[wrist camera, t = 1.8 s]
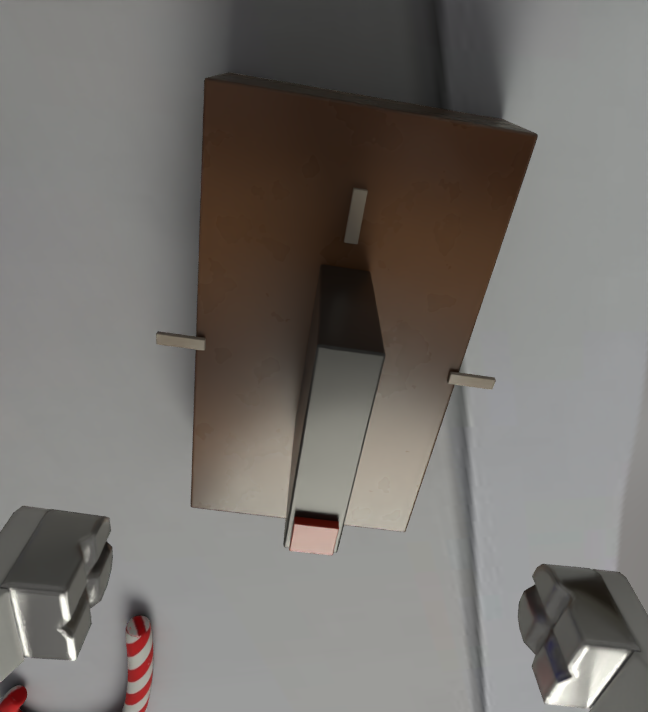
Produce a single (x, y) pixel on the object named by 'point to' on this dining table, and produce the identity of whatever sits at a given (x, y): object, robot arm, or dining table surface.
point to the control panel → (341, 249)
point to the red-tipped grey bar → (333, 408)
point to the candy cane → (138, 670)
